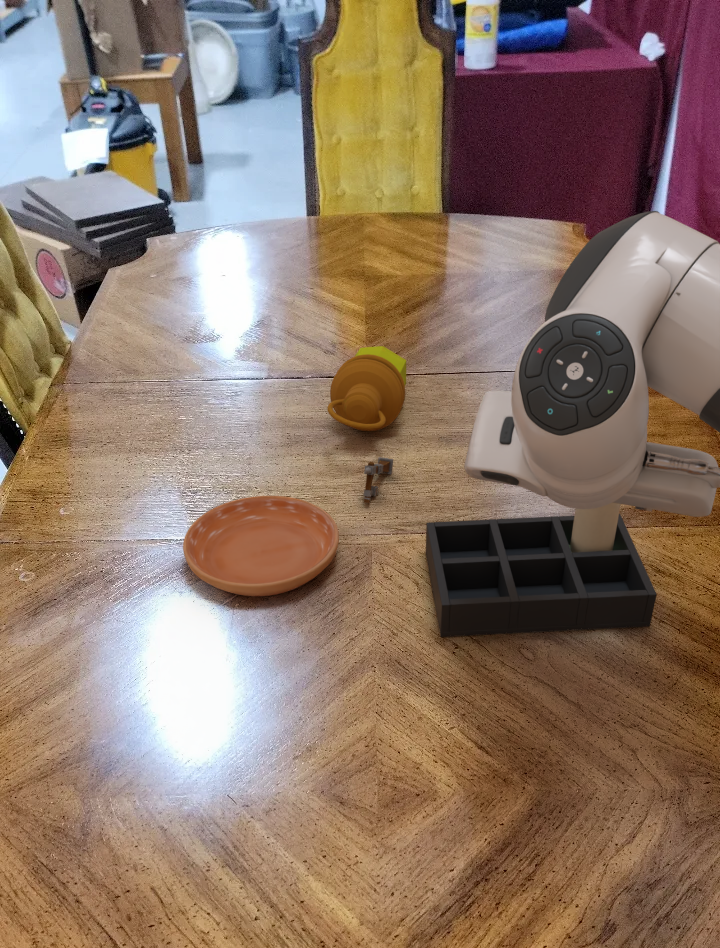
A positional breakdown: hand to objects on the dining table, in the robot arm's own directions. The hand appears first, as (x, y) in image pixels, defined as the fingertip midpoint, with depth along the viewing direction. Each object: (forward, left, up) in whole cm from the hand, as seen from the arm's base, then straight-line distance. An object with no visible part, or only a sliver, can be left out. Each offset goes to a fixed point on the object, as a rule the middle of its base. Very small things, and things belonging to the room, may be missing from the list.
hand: (591, 492), depth 88 cm
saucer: (+30, -11, -14) cm, 35 cm away
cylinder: (-3, -7, -13) cm, 15 cm away
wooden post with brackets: (+17, -24, -14) cm, 32 cm away
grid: (+3, -4, -13) cm, 14 cm away
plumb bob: (+17, -40, -14) cm, 45 cm away
